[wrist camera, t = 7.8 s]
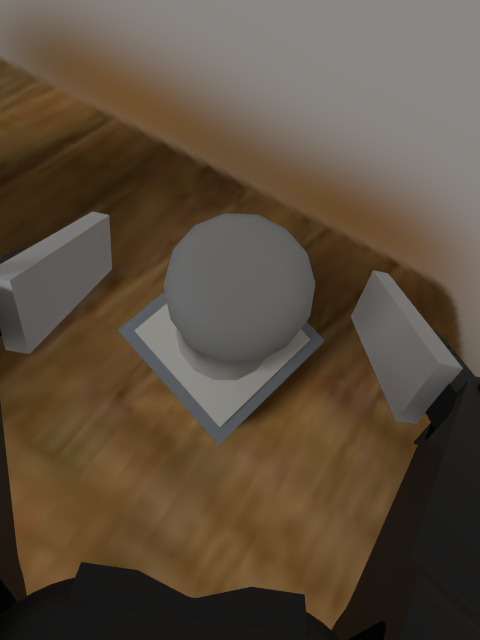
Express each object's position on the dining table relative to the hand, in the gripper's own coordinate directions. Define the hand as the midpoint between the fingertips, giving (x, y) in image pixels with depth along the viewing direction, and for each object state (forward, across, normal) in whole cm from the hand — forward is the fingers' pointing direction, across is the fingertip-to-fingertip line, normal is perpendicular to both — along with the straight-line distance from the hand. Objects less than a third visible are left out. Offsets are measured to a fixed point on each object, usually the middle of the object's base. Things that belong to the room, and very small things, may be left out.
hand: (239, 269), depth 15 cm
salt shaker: (+3, 0, -6) cm, 7 cm away
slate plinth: (+6, 0, -9) cm, 11 cm away
